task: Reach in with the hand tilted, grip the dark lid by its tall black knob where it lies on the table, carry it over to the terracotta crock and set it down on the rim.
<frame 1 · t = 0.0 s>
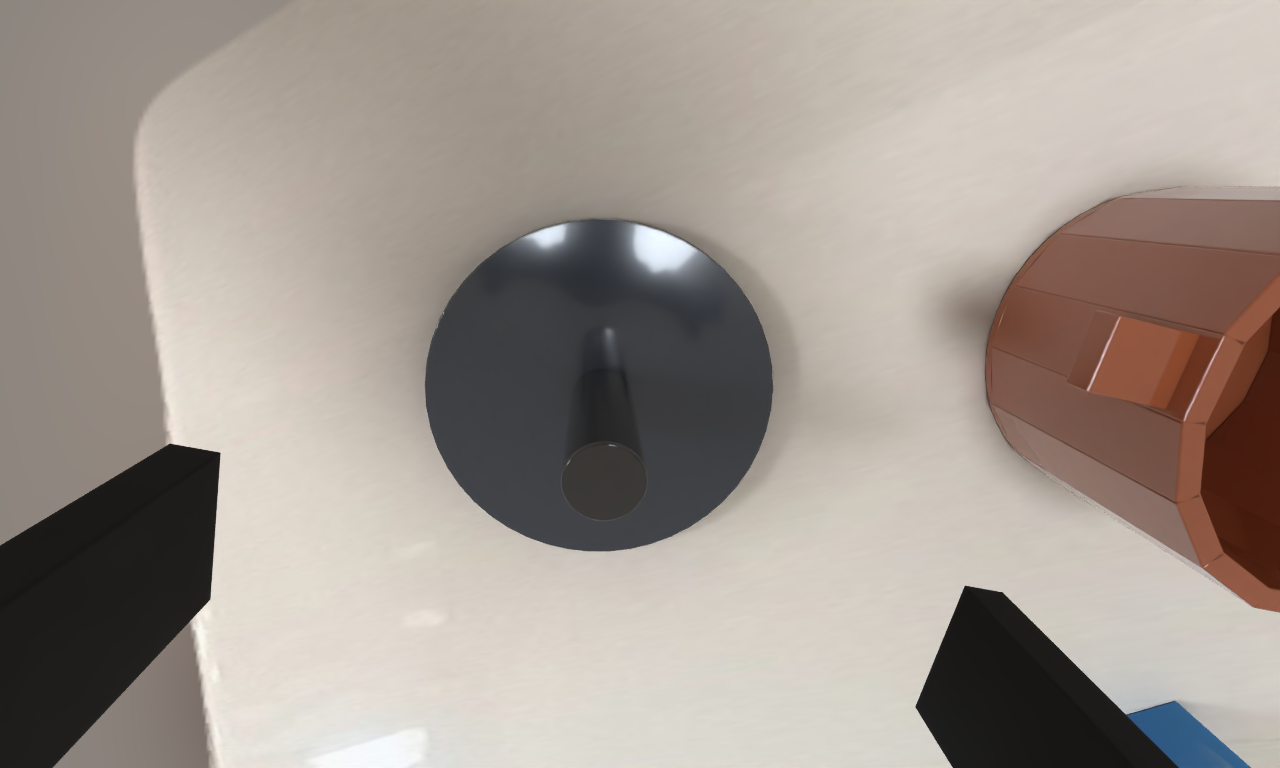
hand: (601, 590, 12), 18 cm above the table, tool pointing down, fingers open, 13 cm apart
crock: (1131, 346, 30), on the table
lid: (601, 393, 29), point 1 cm above the table
perfume bottle: (1121, 757, 37), on the table
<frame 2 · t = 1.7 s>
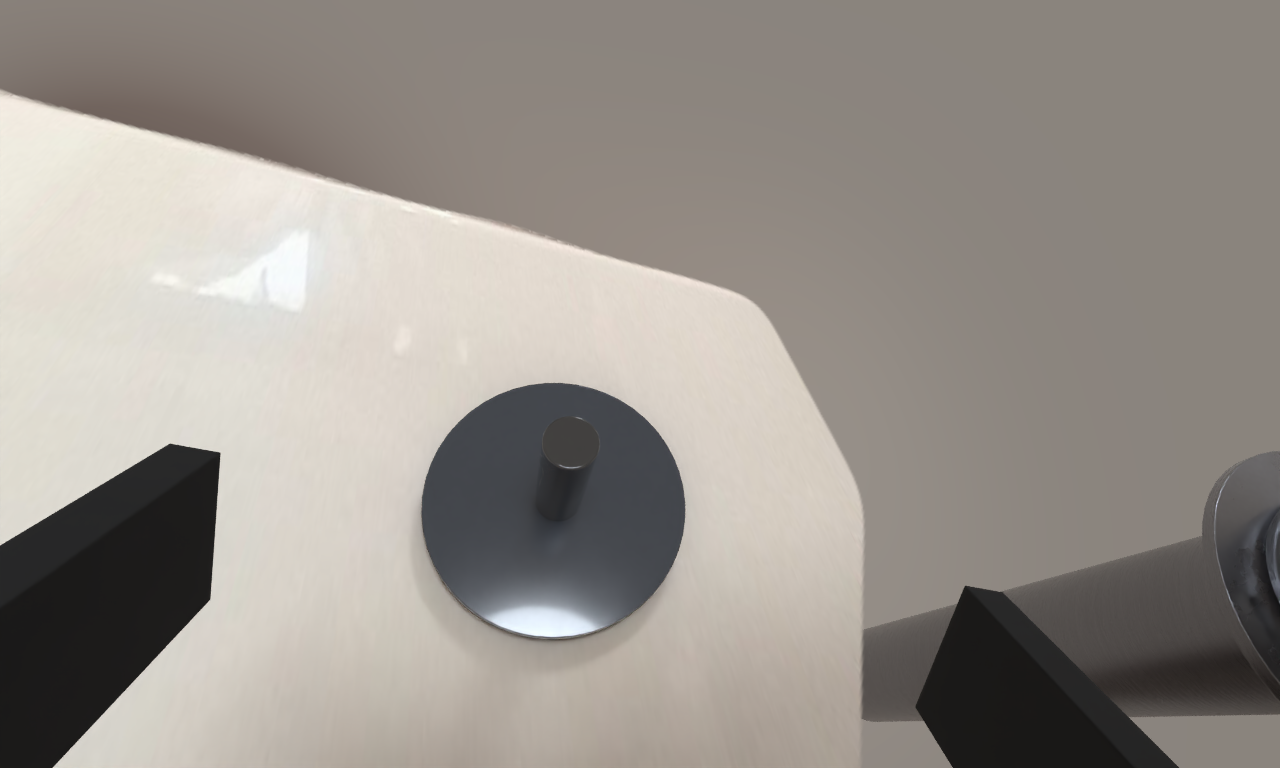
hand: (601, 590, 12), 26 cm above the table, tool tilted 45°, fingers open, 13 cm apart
lid: (557, 502, 38), point 1 cm above the table
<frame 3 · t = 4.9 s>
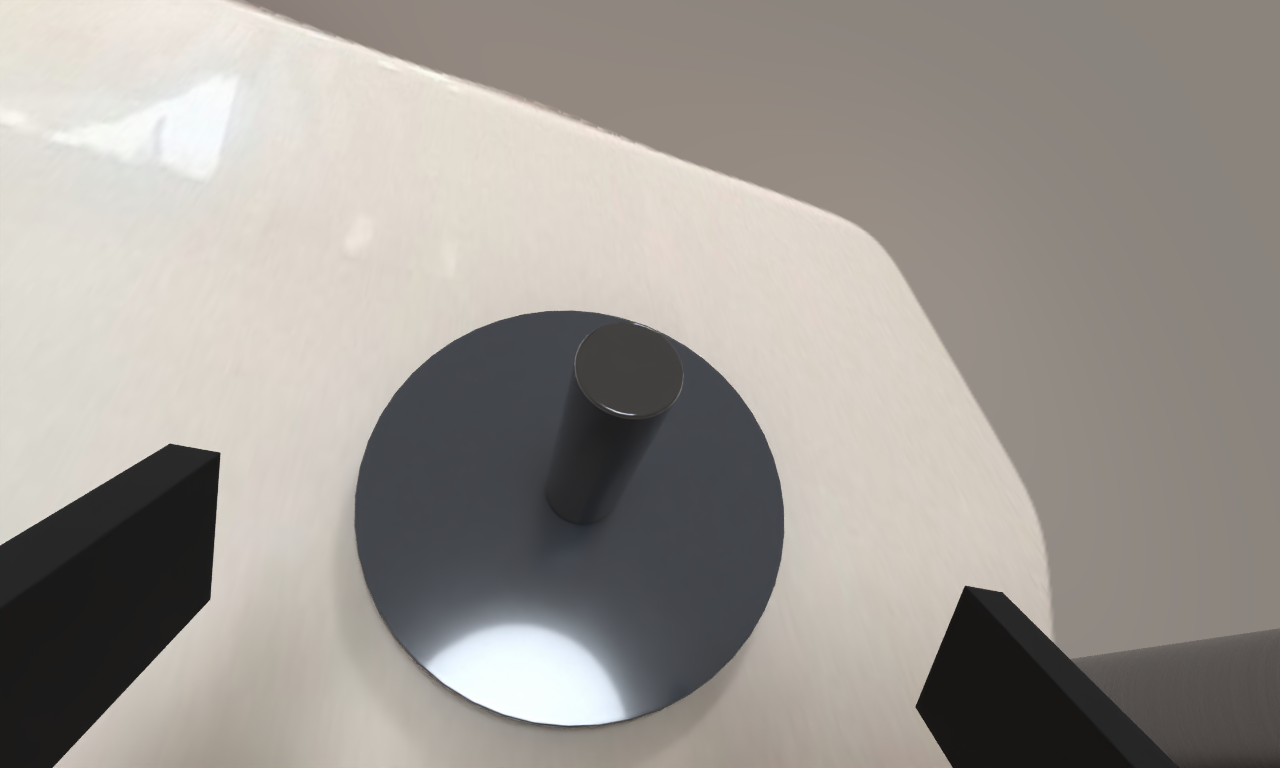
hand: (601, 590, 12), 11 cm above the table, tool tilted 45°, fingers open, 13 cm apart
lid: (580, 493, 23), point 1 cm above the table
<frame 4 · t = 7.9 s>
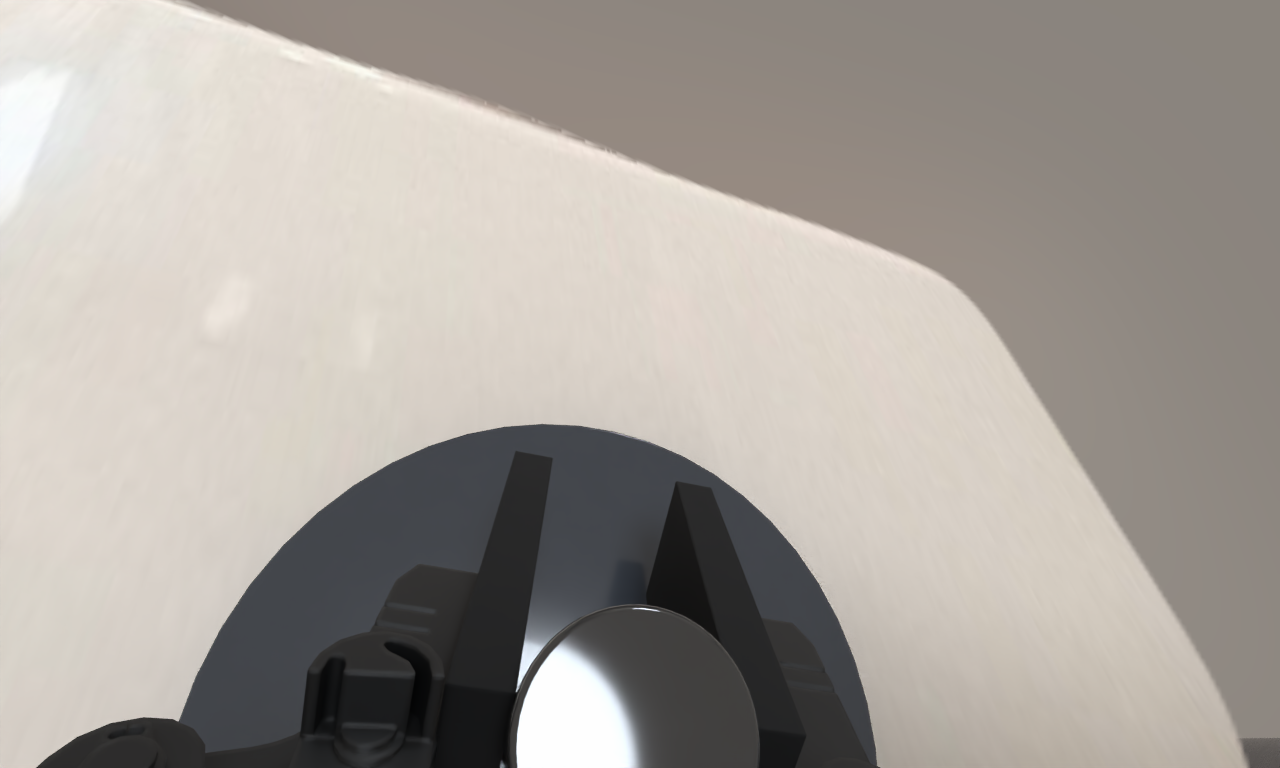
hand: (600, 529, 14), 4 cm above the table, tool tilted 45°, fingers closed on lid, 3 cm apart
lid: (553, 741, 14), point 1 cm above the table, touching gripper
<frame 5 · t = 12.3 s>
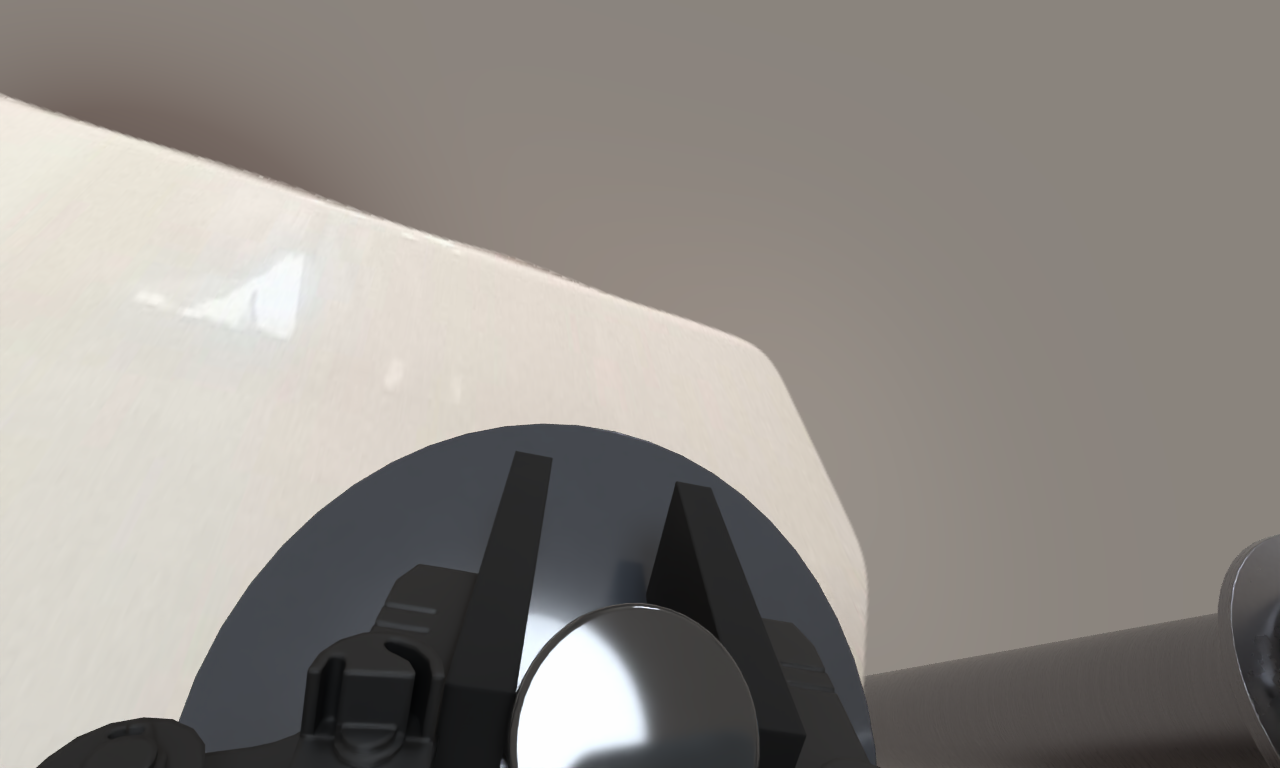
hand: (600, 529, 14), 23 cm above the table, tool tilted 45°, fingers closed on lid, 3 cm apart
lid: (553, 740, 15), point 20 cm above the table, touching gripper
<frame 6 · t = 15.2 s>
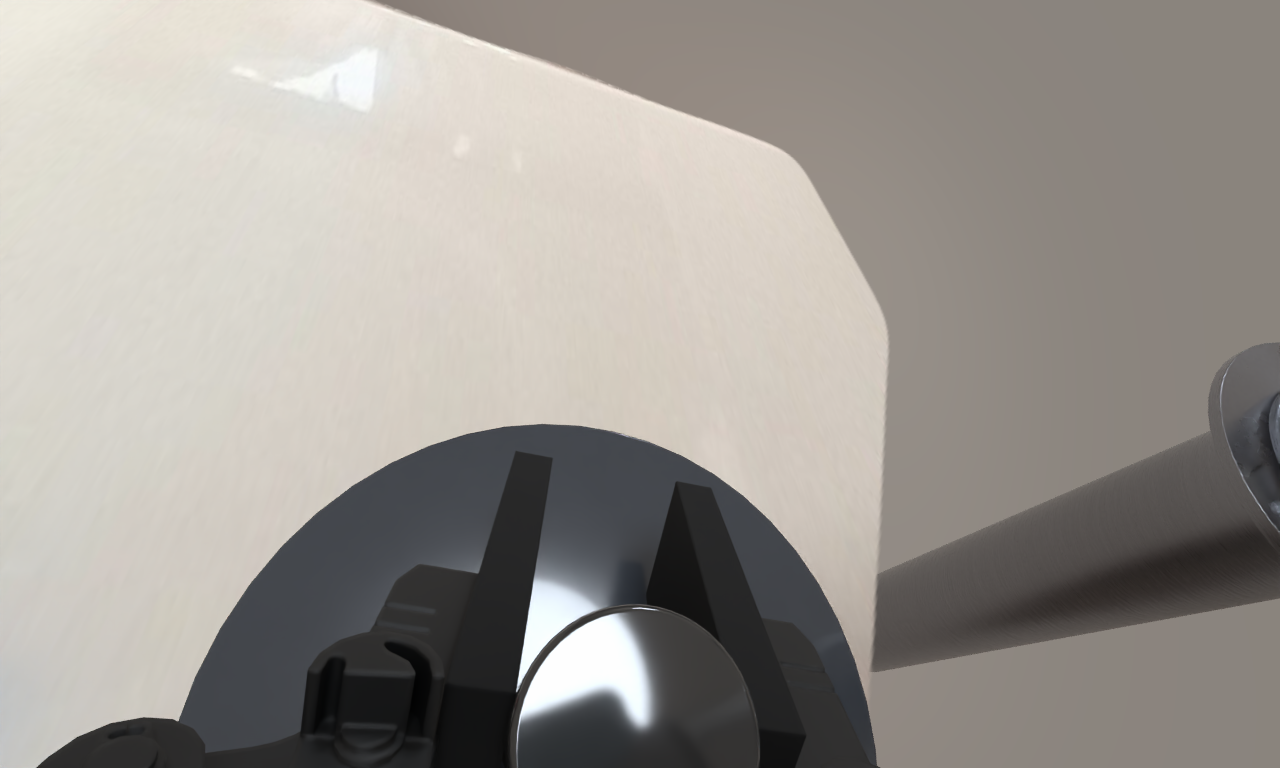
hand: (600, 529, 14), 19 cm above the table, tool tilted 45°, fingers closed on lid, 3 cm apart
lid: (553, 741, 14), point 16 cm above the table, touching gripper
when the fingers open (14 cm above the table, at t = 17.0 s): lid stays where it is, resting on crock.
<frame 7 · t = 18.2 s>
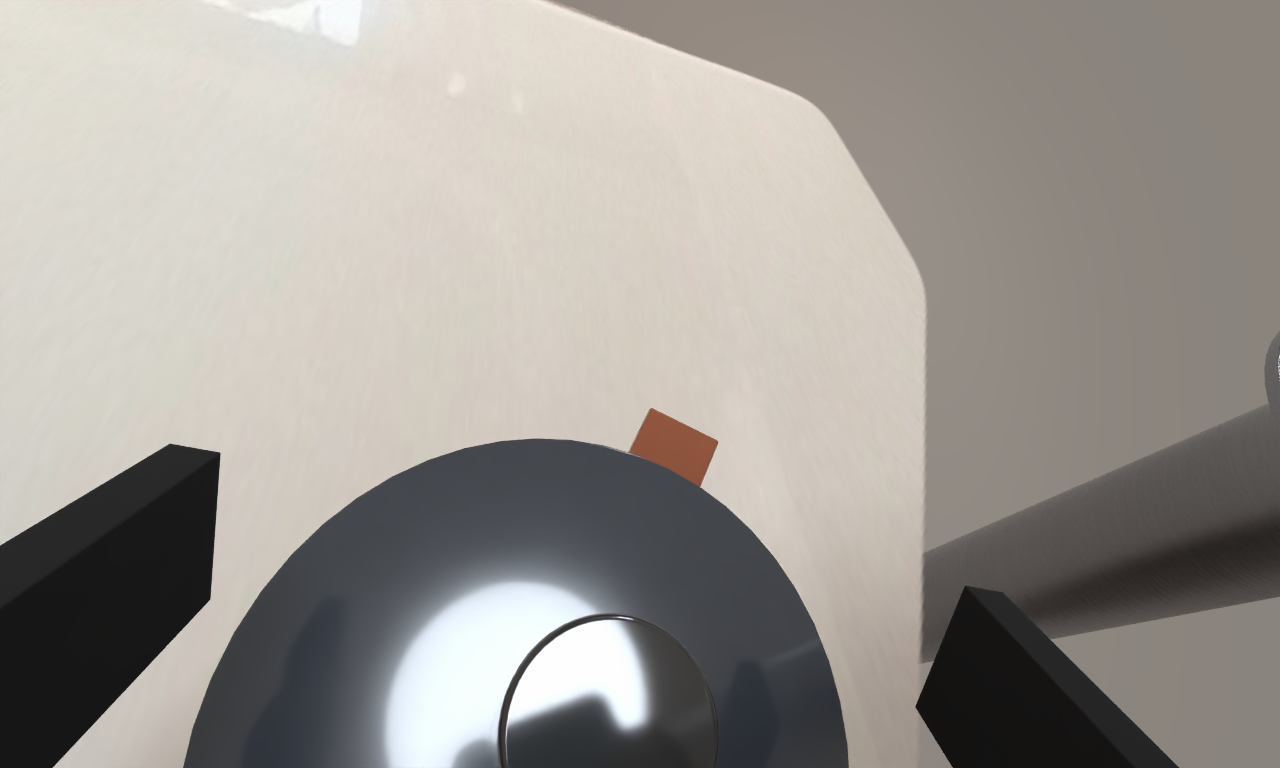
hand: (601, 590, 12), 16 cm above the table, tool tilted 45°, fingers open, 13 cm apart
crock: (521, 739, 25), on the table
lid: (545, 737, 15), point 10 cm above the table, touching crock
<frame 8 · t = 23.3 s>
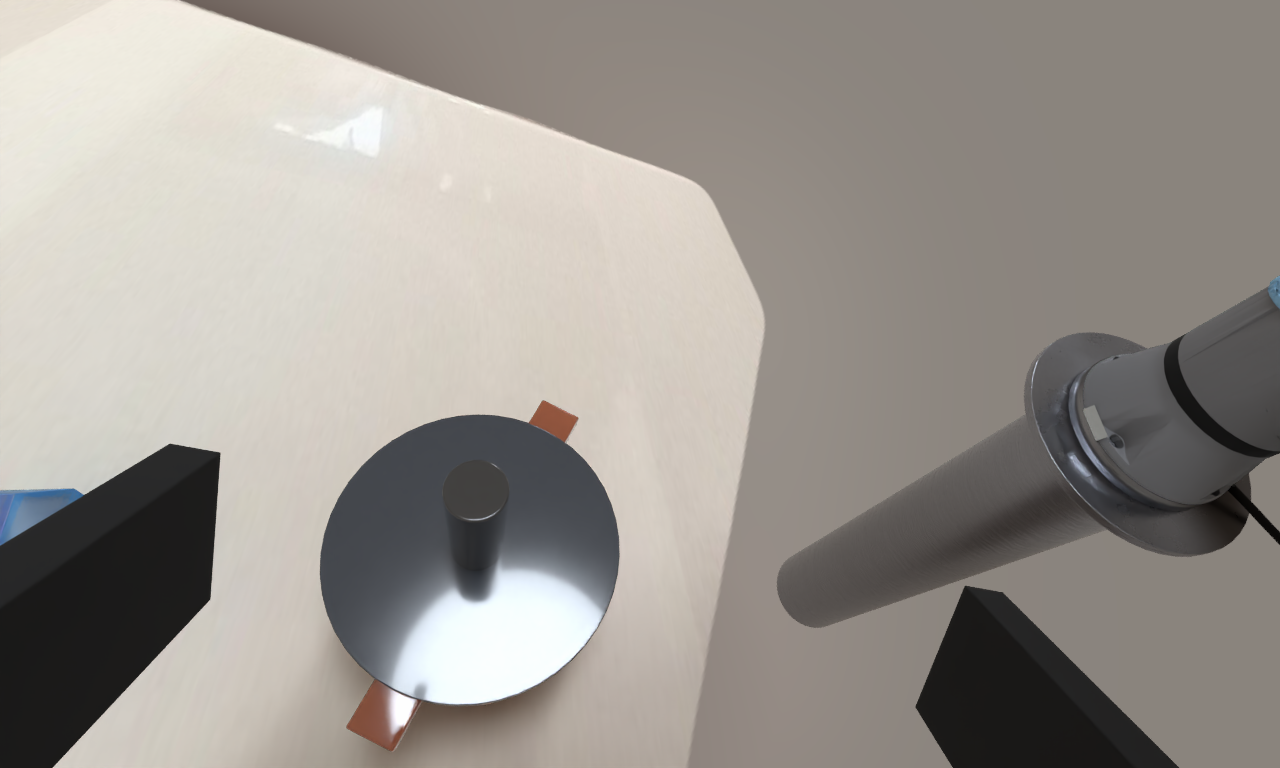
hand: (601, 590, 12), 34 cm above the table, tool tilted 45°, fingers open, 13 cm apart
crock: (478, 589, 43), on the table
lid: (477, 548, 34), point 10 cm above the table, touching crock
perfume bottle: (54, 577, 39), on the table
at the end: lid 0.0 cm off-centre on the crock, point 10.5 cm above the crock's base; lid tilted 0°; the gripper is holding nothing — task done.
